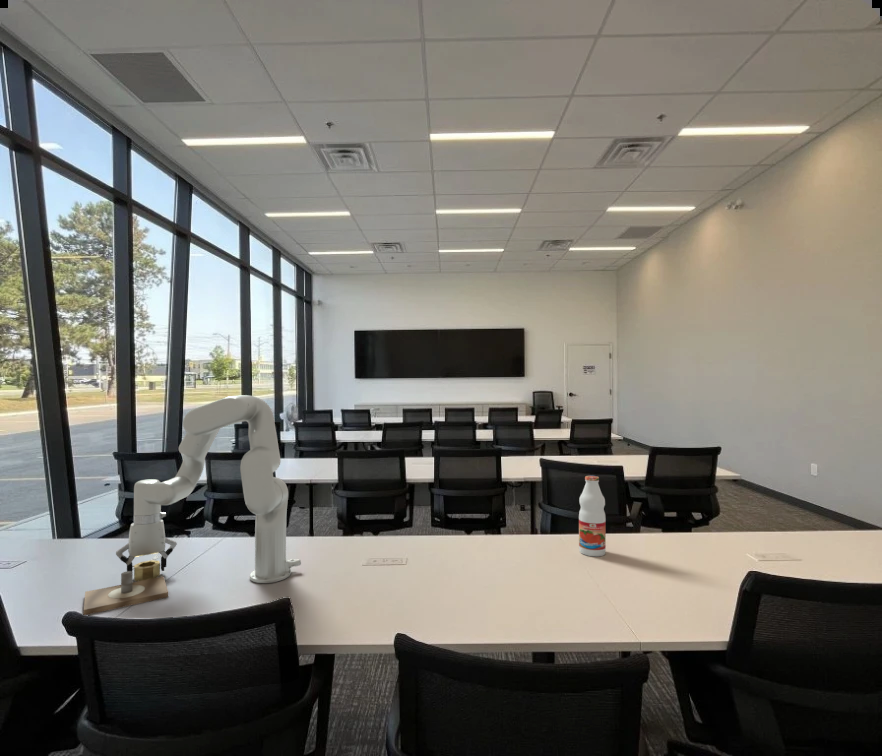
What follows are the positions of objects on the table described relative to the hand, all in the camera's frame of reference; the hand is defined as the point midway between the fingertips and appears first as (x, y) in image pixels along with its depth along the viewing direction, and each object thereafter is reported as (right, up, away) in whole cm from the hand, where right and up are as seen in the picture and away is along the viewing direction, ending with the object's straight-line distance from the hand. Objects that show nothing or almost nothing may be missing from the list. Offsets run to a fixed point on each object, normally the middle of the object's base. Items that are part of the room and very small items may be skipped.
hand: (146, 572), depth 158 cm
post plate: (+3, -1, -15) cm, 15 cm away
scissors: (-7, -2, +15) cm, 16 cm away
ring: (0, -1, 0) cm, 1 cm away
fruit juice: (+151, -2, +23) cm, 153 cm away
